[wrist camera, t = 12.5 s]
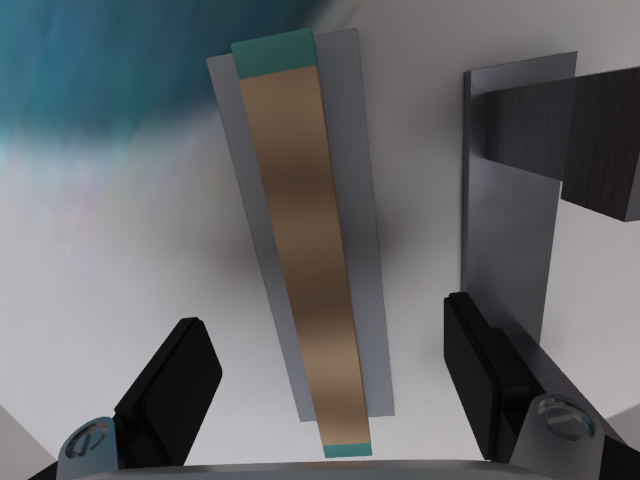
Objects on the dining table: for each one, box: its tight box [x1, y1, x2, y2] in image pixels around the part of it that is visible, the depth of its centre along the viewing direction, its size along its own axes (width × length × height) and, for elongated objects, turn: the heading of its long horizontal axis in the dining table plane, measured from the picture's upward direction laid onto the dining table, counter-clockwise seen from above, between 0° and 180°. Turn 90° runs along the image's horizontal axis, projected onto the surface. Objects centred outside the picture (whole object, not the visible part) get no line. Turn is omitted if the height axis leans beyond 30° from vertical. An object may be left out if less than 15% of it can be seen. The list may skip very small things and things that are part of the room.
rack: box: [462, 51, 640, 446], centre depth 13 cm, size 19×5×10 cm, turn 9°
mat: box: [206, 28, 395, 422], centre depth 18 cm, size 24×7×1 cm, turn 9°
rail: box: [231, 27, 372, 458], centre depth 17 cm, size 23×3×3 cm, turn 9°
